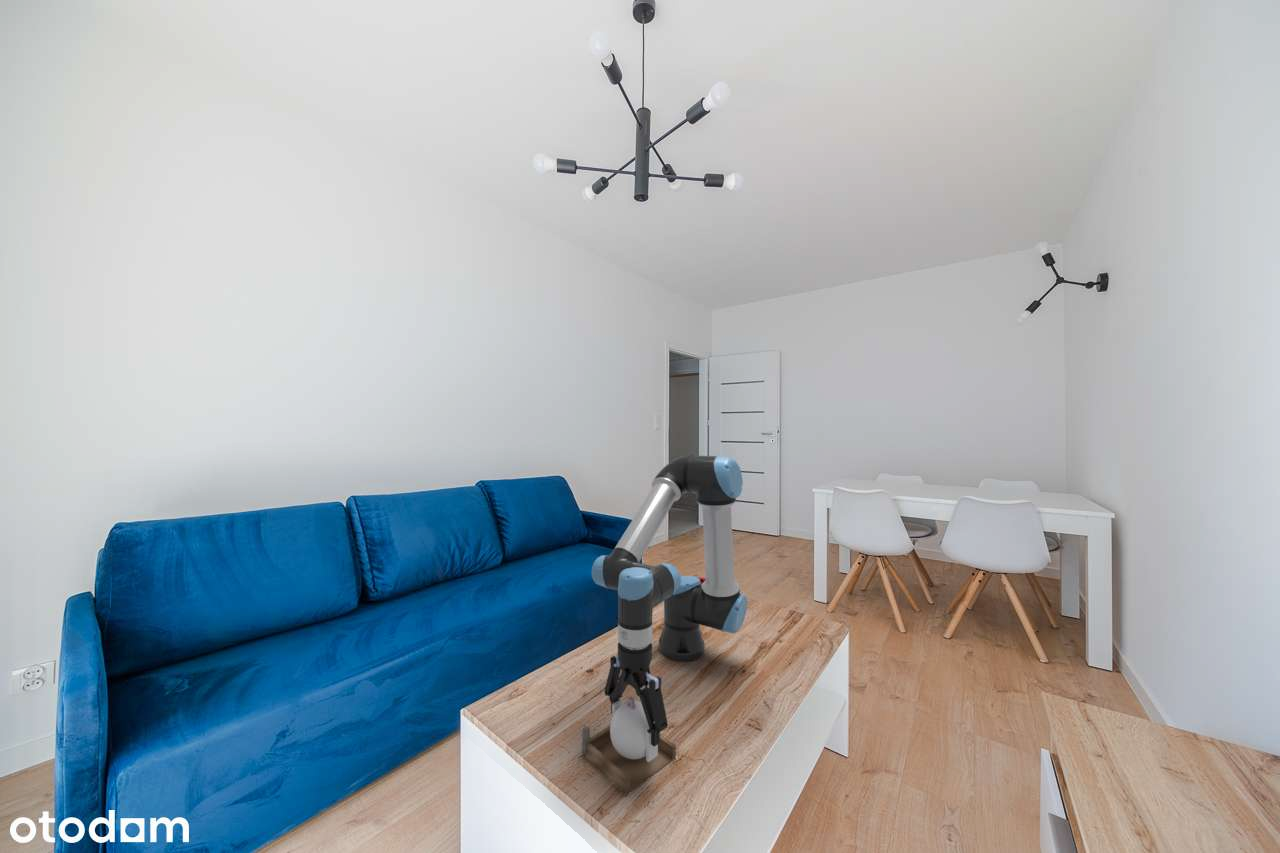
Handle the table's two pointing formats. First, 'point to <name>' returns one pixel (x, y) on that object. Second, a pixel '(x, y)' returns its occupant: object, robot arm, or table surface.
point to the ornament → (629, 730)
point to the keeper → (624, 760)
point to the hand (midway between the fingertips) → (633, 743)
